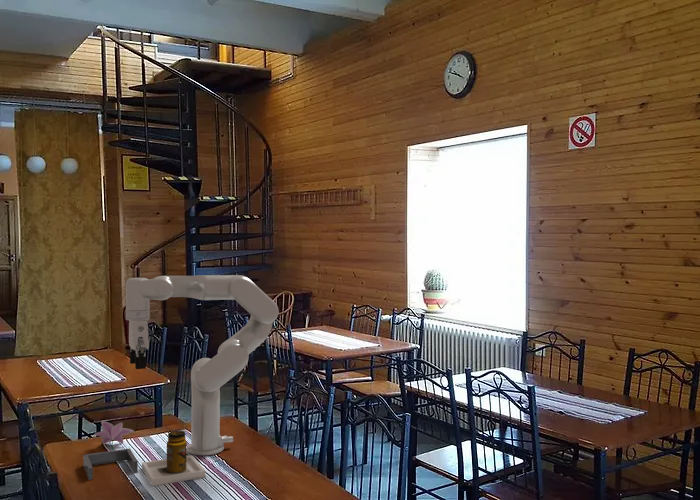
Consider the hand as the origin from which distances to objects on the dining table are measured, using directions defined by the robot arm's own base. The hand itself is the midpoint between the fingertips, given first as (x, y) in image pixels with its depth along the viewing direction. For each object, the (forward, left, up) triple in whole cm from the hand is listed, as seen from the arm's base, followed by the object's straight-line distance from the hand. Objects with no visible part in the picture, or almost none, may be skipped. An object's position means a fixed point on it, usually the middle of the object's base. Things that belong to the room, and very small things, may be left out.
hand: (137, 366), depth 224 cm
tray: (-7, +21, -30) cm, 38 cm away
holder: (+10, +9, -30) cm, 33 cm away
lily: (+6, -14, -31) cm, 34 cm away
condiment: (-7, +21, -30) cm, 37 cm away
